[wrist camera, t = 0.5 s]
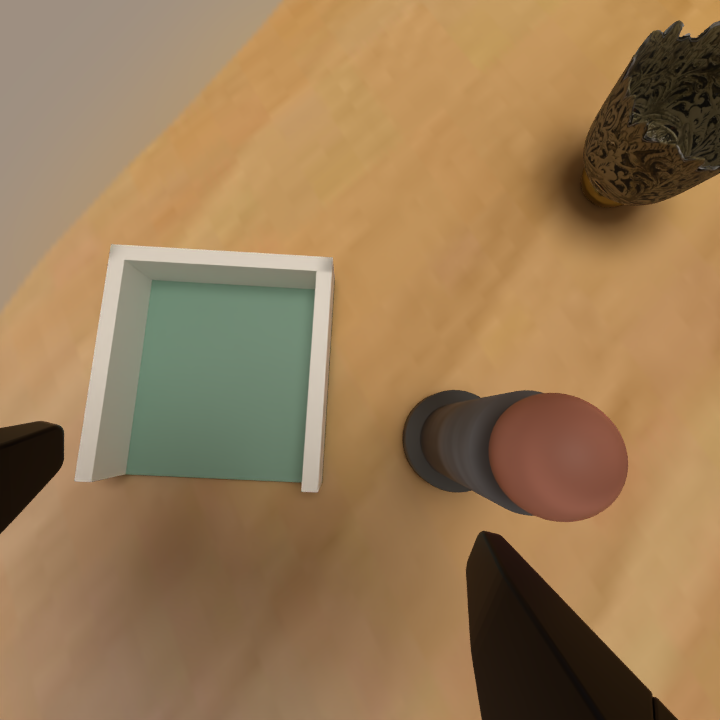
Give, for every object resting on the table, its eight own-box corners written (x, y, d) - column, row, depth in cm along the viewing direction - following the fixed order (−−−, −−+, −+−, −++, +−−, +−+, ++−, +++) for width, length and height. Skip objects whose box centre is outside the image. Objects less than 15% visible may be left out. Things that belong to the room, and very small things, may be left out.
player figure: (454, 508, 23) (612, 633, 9) (383, 441, 23) (433, 467, 10) (514, 436, 24) (743, 454, 10) (444, 373, 24) (572, 307, 10)
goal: (322, 481, 23) (317, 492, 19) (115, 472, 23) (74, 481, 19) (334, 280, 25) (332, 257, 21) (144, 269, 24) (111, 244, 21)
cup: (549, 237, 26) (638, 154, 18) (544, 133, 27) (626, 12, 19) (663, 241, 26) (802, 162, 18) (653, 138, 27) (780, 21, 19)
